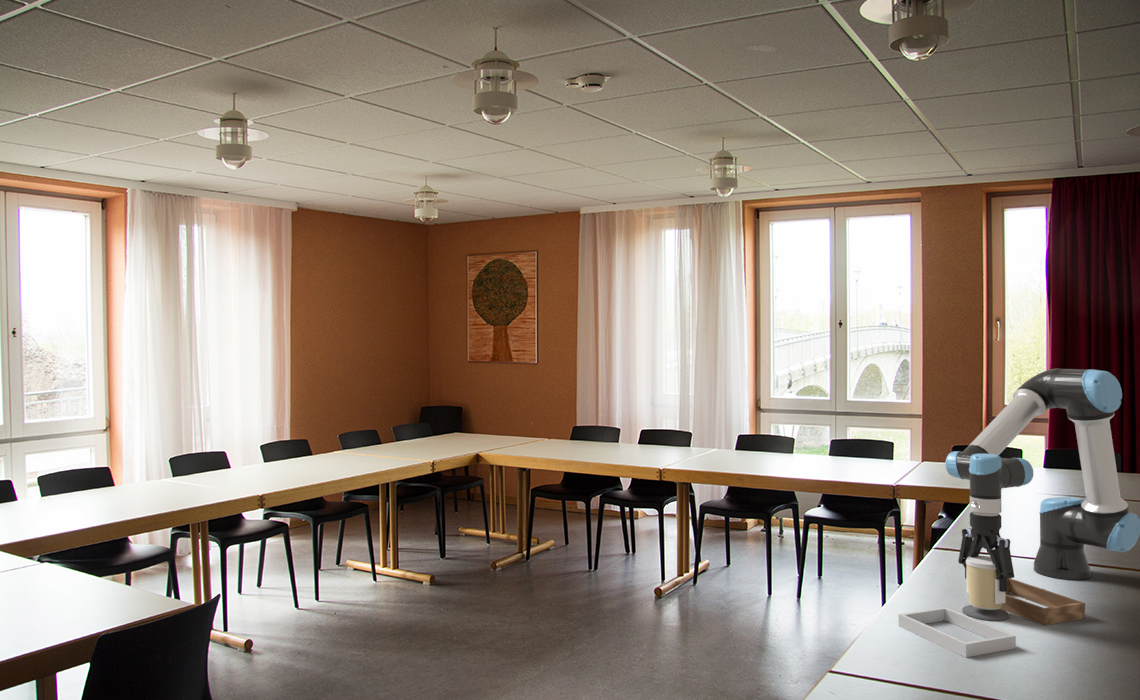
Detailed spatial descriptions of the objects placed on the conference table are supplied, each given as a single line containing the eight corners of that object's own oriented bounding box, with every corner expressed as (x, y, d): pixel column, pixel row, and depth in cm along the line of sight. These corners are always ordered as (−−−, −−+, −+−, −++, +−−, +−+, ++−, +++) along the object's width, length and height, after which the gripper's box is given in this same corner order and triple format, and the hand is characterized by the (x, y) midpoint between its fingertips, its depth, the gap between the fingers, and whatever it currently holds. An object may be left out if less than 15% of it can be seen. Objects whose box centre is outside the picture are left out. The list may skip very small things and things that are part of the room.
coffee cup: (1010, 611, 215) (1010, 565, 215) (971, 609, 217) (971, 564, 217) (999, 600, 224) (999, 555, 224) (961, 598, 226) (961, 554, 226)
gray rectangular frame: (945, 618, 218) (945, 607, 218) (1015, 648, 197) (1015, 635, 197) (898, 625, 213) (898, 614, 213) (965, 657, 192) (965, 644, 192)
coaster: (984, 605, 228) (984, 602, 228) (1018, 617, 217) (1018, 615, 217) (953, 609, 224) (953, 607, 224) (985, 623, 214) (985, 620, 214)
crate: (1008, 591, 239) (1008, 577, 239) (1085, 618, 216) (1085, 603, 216) (970, 597, 234) (970, 583, 234) (1044, 625, 212) (1044, 609, 212)
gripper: (943, 506, 229) (943, 587, 230) (1008, 522, 209) (1008, 612, 209) (964, 503, 232) (964, 584, 232) (1030, 520, 211) (1030, 608, 212)
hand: (985, 597), depth 221 cm, fingers closed on coffee cup, 9 cm apart
